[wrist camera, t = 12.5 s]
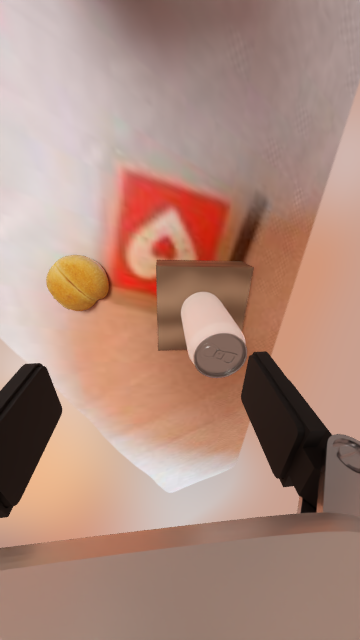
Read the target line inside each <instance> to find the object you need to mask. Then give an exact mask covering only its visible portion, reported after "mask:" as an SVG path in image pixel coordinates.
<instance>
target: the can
mask: <svg viewBox="0 0 360 640" xmlns="http://www.w3.org/2000/svg"><path fill="white" fill-rule="evenodd" d="M181 318H182V324H183V329H184V335H185V340H186V345H187V350H188V354H189V357H190V359H191V361H192V362H193V364H194V365H195V367H196V368H197V370H198V371H199V372H200V373H201V374H203V375H205V376H207V377H211V378H222V377H227V376H229V375H232V374H233V373H235V372H237V371H238V370H239V369H240V368H241V367H242V366H243V364H244V363H245V361H246V358H247V347H246V342H245V337H244V335H243V333H242V331H241V330H240V328H239V327H238V325H237V324H236V323H235V321H234V320H233V318H232V317H231V315H230V314H229V313H228V311H227V310H226V308H225V307H224V306H223V304H222V303H221V301H220V300H219V299H218V298H217V297H216V296H215V295H213V294H211V293H209V292H198V293H195V294H192V295H191V296H189V297H188V298H187V299H186V300H185V301H184V303H183V305H182V308H181Z"/></svg>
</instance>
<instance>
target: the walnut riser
mask: <svg viewBox="0 0 360 640" xmlns="http://www.w3.org/2000/svg"><path fill="white" fill-rule="evenodd" d="M253 269H254V267H252V266H250V265H248V264H246V263H244V262H242V261H189V260H157V265H156V274H157V323H158V351H161V350H187V345H186V340H185V335H184V329H183V324H182V318H181V308H182V305H183V303H184V301H185V300H186V299H187V298H188V297H189V296H191V295H192V294H195V293H198V292H209V293H211V294H213V295H215V296H216V297H217V298H218V299H219V300H220V301H221V303H222V304H223V306H224V307H225V308H226V310H227V311H228V313H229V314H230V315H231V317H232V318H233V320H234V321H235V323H236V324H237V325H238V327H239V328H240V330H241V331H242V329H243V323H244V318H245V312H246V307H247V302H248V296H249V291H250V285H251V280H252V275H253Z"/></svg>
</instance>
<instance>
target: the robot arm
mask: <svg viewBox="0 0 360 640" xmlns="http://www.w3.org/2000/svg"><path fill="white" fill-rule="evenodd" d="M241 399H242V403H243V405H244V407H245V410H246V412H247V414H248V416H249V419H250V421H251V423H252V426H253V428H254V430H255V432H256V435H257V437H258V439H259V442H260V444H261V446H262V449H263V451H264V453H265V455H266V458H267V460H268V462H269V465H270V467H271V469H272V472H273V474H274V475H275V477H276V478H279V479H280V481H281V483H282V485H283V487H289V486H294V487H295V489H296V491H297V493H298V495H299V503H298V510H297V514H290V515H279V516H267V517H256V518H247V519H239V520H230V521H221V522H212V523H204V524H195V525H186V526H178V527H169V528H161V529H153V530H144V531H136V532H127V533H119V534H110V535H102V536H94V537H86V538H78V539H69V540H61V541H54V542H47V543H38V544H30V545H21V546H14V547H6V548H0V640H360V441H358V440H356V439H354V438H352V437H349V436H346V435H341V434H336V435H331V433H330V432H329V430H328V429H327V428H326V427H325V425H324V424H323V423H322V422H321V420H320V419H319V418H318V416H317V415H316V414H315V412H314V411H313V410H312V408H310V406H309V405H308V403H307V402H306V401H305V399H304V398H303V397H302V396H301V394H300V393H299V392H298V390H297V389H296V388H295V386H294V385H293V384H292V383H291V382H290V381H289V380H288V379H287V377H286V376H285V375H284V373H283V372H282V371H281V369H280V368H279V367H278V366H277V364H276V363H275V362H274V360H273V359H272V358H271V356H270V355H269V354H268V353H267V352H254V353H253V354H252V355H250V356H249V360H248V364H247V369H246V374H245V379H244V384H243V389H242V394H241ZM61 414H62V406H61V404H60V401H59V399H58V396H57V394H56V391H55V388H54V386H53V383H52V381H51V378H50V376H49V373H48V370H47V368H46V367H45V366H43V365H42V364H40V363H35V364H25V365H23V366H22V367H21V368H20V369H19V370H18V372H17V373H16V374H15V375H14V376H13V377H12V378H11V380H10V381H9V382H8V383H7V384H6V385H5V386H4V387H3V389H2V390H1V391H0V518H3V517H8V516H9V514H10V512H11V510H12V508H13V506H15V505H17V504H18V502H19V501H20V499H21V497H22V495H23V493H24V491H25V488H26V487H27V485H28V483H29V481H30V478H31V477H32V474H33V472H34V470H35V468H36V466H37V464H38V462H39V460H40V458H41V456H42V454H43V452H44V450H45V447H46V445H47V443H48V441H49V439H50V437H51V435H52V433H53V431H54V429H55V427H56V425H57V423H58V420H59V418H60V416H61Z"/></svg>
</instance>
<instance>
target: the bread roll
mask: <svg viewBox="0 0 360 640" xmlns="http://www.w3.org/2000/svg"><path fill="white" fill-rule="evenodd" d="M46 282H47V287H48V289H49V291H50V292H51V294H52V295H53V297H54V298H55V299H56V300H57V301H58V302H59V303H60V304H61V305H62V306H63V307H65V308H67V309H71V310H75V311H83V310H87V309H89V308H91V307H92V306H93V305H94V304H95V303H96V301H97V300H98V299H102V298H104V297H105V296H106V295H107V293H108V289H109V284H108V278H107V275H106V273H105V271H104V269H103V268H102V266H101V265H100V264H99V263H97V262H96V261H94V260H92V259H90V258H88V257H85V256H81V255H70V256H65V257H62V258H61V259H59V260H58V261H57V262H56V263H55V264H54V265H53V266H52V267H51V269H50V270H49V272H48V275H47V279H46Z"/></svg>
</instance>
